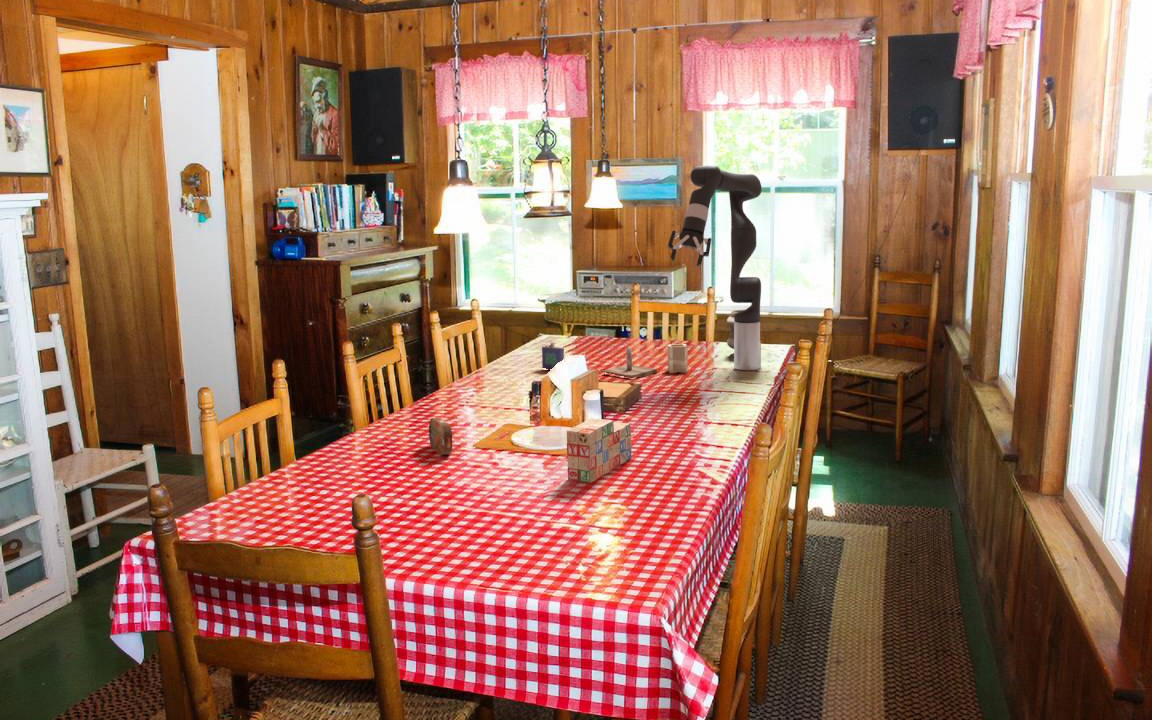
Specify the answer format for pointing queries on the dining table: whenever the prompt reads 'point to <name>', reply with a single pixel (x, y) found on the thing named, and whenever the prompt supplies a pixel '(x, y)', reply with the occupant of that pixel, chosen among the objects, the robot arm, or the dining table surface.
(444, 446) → the tin
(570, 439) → the stack of blocks
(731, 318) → the apothecary jar
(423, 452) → the dining table surface
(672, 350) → the tan upright block
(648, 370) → the post base
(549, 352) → the flask
